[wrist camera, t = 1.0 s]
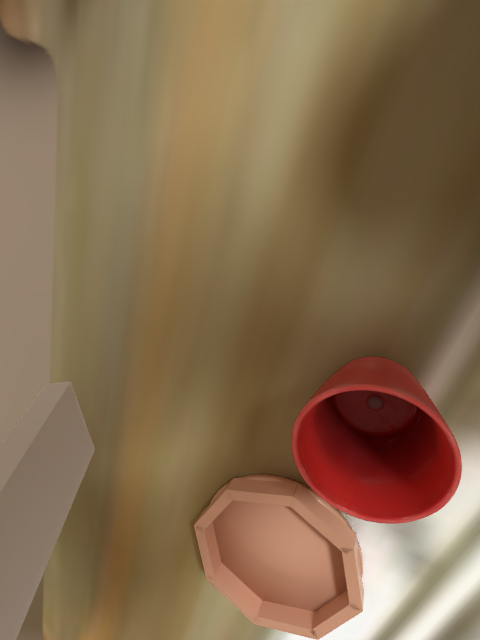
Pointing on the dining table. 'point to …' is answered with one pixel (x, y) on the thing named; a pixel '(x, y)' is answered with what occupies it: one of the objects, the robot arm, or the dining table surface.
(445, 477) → the flower pot
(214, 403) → the dining table surface
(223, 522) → the terracotta saucer
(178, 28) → the dining table surface
